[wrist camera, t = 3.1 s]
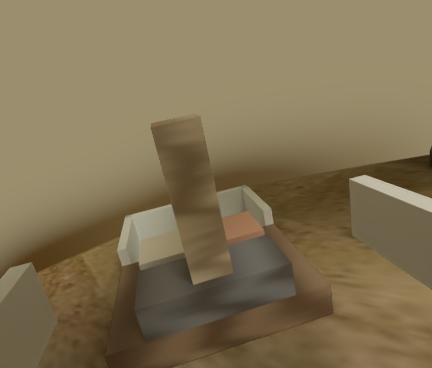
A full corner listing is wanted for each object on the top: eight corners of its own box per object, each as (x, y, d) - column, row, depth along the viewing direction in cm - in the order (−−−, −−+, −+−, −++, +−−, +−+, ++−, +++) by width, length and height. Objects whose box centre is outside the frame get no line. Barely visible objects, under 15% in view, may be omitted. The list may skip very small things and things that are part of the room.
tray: (251, 214, 45) (246, 184, 44) (276, 245, 36) (271, 208, 34) (135, 246, 43) (125, 216, 41) (130, 288, 33) (116, 250, 32)
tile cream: (193, 250, 33) (187, 227, 32) (199, 276, 28) (192, 249, 27) (148, 263, 32) (141, 239, 31) (147, 292, 27) (138, 265, 26)
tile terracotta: (252, 234, 33) (248, 210, 32) (268, 256, 29) (264, 229, 28) (210, 245, 33) (204, 222, 32) (219, 270, 28) (213, 243, 27)
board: (276, 245, 36) (273, 223, 35) (333, 313, 24) (330, 283, 23) (130, 288, 33) (122, 266, 32) (117, 385, 22) (104, 356, 21)
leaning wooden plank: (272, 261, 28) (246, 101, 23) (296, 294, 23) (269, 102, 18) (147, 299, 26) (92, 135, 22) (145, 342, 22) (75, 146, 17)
